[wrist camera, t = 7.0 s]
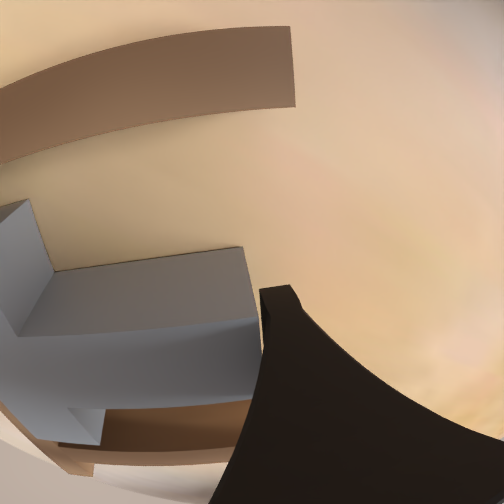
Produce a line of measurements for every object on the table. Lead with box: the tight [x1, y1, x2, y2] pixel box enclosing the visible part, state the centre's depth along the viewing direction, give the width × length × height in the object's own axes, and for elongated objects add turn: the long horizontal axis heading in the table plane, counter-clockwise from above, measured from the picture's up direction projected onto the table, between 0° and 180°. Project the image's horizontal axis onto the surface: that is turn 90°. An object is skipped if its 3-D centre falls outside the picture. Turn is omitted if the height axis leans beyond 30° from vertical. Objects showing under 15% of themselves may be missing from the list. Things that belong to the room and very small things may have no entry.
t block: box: [0, 199, 262, 445], centre depth 8 cm, size 8×9×3 cm
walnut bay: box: [0, 26, 296, 477], centre depth 9 cm, size 18×12×2 cm, turn 5°
